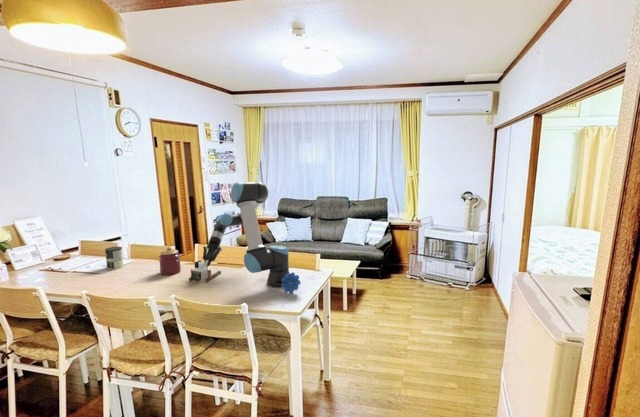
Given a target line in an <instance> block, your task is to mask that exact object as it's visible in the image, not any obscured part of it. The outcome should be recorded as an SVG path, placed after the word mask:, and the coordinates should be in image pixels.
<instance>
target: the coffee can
mask: <svg viewBox="0 0 640 417" xmlns="http://www.w3.org/2000/svg"><path fill="white" fill-rule="evenodd" d="M104 250H105V261H106V269H107V268H108V269H107V270H110V269H112V270H119V269H121V268H123V267H124V260H123V258H124V256H123V248H122V246H110V247H107V248H104Z"/></svg>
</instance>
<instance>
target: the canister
mask: <svg viewBox="0 0 640 417" xmlns="http://www.w3.org/2000/svg"><path fill="white" fill-rule="evenodd" d="M159 254H160V255H159V256H158V258H159V261H158V263H159V272H160V275H162V276H163V275H164V276H171V275H175V274H178V273H181V270H182V268H181V258H180V253H179V250H178V249H175V248H172V247H171V246H168V247H166V249H163V250H162V251H160V253H159Z"/></svg>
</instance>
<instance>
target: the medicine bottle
mask: <svg viewBox="0 0 640 417" xmlns="http://www.w3.org/2000/svg"><path fill="white" fill-rule="evenodd" d="M193 269H194V270H192V281H191V282H195V283H196V282H198V283H202V282H206V279H207V278H208V274H207V271H208V270H209V267H208V268H205V262H204V260H197V261H195V262H194V268H193Z"/></svg>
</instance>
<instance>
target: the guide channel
mask: <svg viewBox="0 0 640 417" xmlns="http://www.w3.org/2000/svg"><path fill="white" fill-rule="evenodd" d="M194 269H195V268H192V269H190V277H189V278H188V282H193V281H192V270H194ZM207 274H208V278H207V279H206V280H205V283H210V282H211V281H213V280H214V279H215V278H217V277H218V276H220V275H221V274H222V270H218V271H216V272H215V273H213V274H212V270H211V269H208V271H207Z"/></svg>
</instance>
